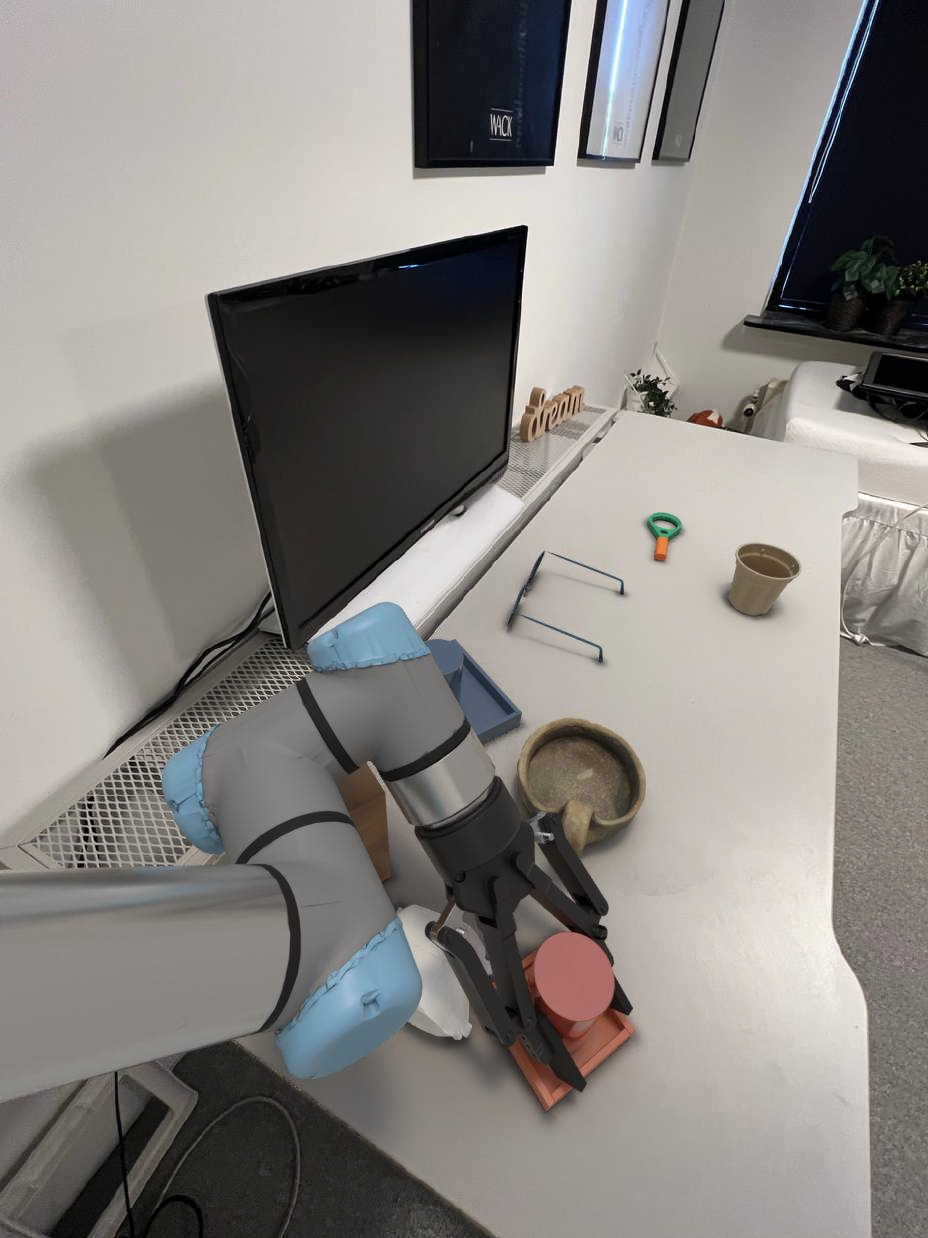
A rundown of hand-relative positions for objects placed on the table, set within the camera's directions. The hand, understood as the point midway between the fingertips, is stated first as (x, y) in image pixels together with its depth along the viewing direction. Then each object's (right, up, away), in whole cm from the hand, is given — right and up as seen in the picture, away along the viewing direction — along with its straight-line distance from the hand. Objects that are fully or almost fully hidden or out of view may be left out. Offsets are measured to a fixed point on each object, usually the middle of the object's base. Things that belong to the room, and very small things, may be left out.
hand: (595, 1041), depth 47 cm
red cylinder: (-3, 0, +3) cm, 4 cm away
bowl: (+1, +12, +19) cm, 22 cm away
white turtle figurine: (-16, +2, +6) cm, 17 cm away
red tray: (-3, -1, +4) cm, 5 cm away
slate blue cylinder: (-14, +22, +28) cm, 38 cm away
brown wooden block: (-26, +9, +13) cm, 30 cm away
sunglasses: (+5, +34, +44) cm, 56 cm away
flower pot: (+35, +36, +48) cm, 69 cm away
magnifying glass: (+26, +48, +61) cm, 82 cm away
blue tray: (-14, +22, +28) cm, 38 cm away
